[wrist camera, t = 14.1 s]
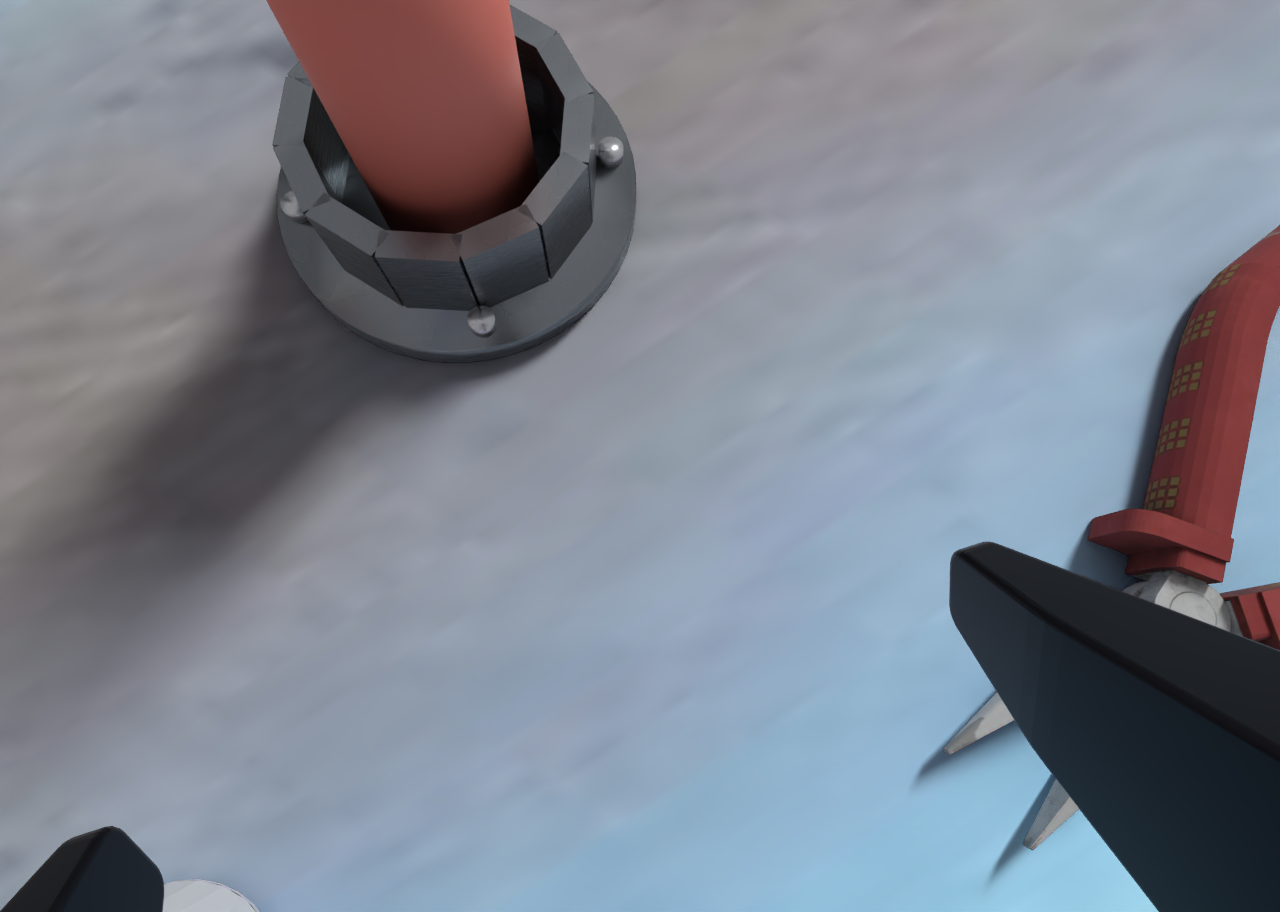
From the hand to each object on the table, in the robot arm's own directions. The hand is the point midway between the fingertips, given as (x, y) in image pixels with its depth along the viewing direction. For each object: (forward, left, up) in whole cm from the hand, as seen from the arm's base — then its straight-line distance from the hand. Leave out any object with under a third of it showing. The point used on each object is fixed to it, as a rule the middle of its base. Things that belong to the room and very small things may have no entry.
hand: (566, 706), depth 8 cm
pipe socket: (+10, +12, -14) cm, 21 cm away
